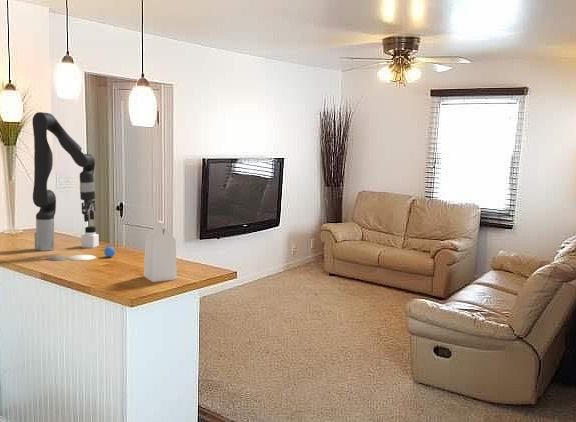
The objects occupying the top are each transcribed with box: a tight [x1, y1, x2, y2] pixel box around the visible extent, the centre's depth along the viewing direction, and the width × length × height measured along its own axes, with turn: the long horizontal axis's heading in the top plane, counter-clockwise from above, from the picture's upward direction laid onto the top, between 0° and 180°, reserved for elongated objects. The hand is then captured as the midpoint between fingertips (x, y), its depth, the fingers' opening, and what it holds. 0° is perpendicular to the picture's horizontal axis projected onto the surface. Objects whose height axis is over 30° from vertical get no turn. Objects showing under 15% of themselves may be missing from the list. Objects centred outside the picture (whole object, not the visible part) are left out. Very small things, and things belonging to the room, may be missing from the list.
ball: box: [103, 246, 116, 258], centre depth 295 cm, size 6×6×6 cm
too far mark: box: [46, 255, 68, 262], centre depth 287 cm, size 10×10×1 cm
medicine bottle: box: [81, 225, 100, 249], centre depth 321 cm, size 7×7×12 cm
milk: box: [143, 220, 178, 283], centre depth 253 cm, size 12×12×26 cm
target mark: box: [66, 254, 97, 262], centre depth 291 cm, size 14×14×1 cm
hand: (89, 220), depth 303 cm, fingers open, 8 cm apart
